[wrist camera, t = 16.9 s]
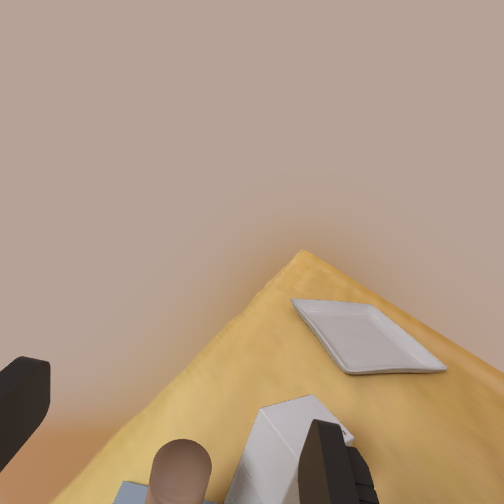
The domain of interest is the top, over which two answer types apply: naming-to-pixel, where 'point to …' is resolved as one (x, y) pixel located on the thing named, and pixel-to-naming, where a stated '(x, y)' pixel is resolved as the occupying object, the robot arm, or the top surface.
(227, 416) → the top surface
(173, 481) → the plug
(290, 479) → the small box
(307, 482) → the robot arm
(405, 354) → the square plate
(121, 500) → the mat
